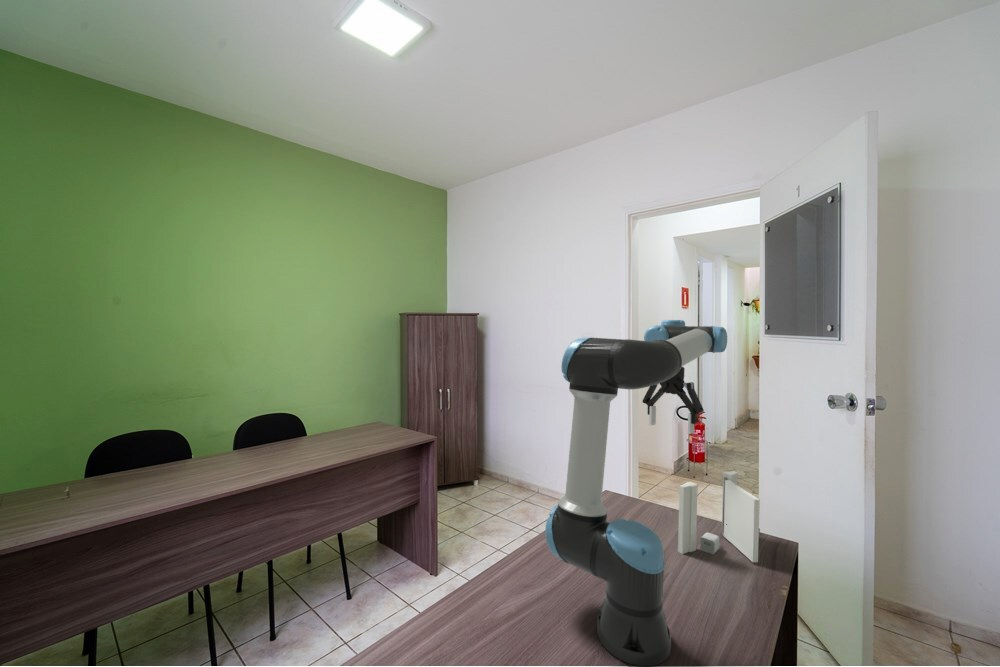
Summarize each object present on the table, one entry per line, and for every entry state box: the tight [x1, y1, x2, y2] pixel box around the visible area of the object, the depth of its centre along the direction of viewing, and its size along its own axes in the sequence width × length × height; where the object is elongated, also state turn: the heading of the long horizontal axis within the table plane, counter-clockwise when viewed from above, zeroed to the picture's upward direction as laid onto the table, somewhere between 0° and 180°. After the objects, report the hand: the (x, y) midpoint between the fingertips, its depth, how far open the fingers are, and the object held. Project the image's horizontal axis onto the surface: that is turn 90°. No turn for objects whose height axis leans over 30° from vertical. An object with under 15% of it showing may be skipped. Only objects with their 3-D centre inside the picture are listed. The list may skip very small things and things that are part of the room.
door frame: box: [677, 470, 739, 555], centre depth 125 cm, size 26×2×20 cm, turn 118°
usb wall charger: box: [699, 532, 721, 555], centre depth 122 cm, size 4×7×4 cm, turn 135°
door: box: [723, 480, 761, 563], centre depth 121 cm, size 14×3×18 cm, turn 2°
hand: (670, 428), depth 135 cm, fingers open, 13 cm apart
